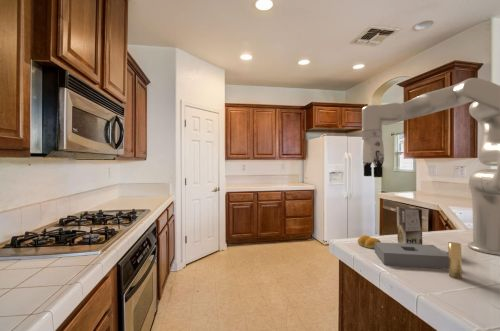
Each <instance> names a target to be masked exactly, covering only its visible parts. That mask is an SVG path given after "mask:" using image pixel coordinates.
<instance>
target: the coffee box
mask: <svg viewBox="0 0 500 331" xmlns="http://www.w3.org/2000/svg"><path fill="white" fill-rule="evenodd" d="M396 230H397V232H396V234H397V243H401V244H421V245H423V209H421V208H418V207H417V206H416V207H415V206H413V205H402V206H401V205H397V206H396Z"/></svg>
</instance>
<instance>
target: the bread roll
mask: <svg viewBox="0 0 500 331" xmlns="http://www.w3.org/2000/svg"><path fill="white" fill-rule="evenodd" d="M375 242H381V240H380V239H378V238H376V237H371V236H370V235H367V234H365V235H361V236H360V237H359V238H357V244H358V245H359V246H361V247H363V248H364V247H365V248H366V249H375ZM381 243H382V242H381Z"/></svg>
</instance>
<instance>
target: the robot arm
mask: <svg viewBox="0 0 500 331" xmlns="http://www.w3.org/2000/svg"><path fill="white" fill-rule="evenodd" d="M469 103H471V104H470V105H469V108H468V112H469V114H470V116H471V117H472V118H474V120H475V121H477V122H478V123H479V126H481V130H482V131H481V132H482V133H481V140H480V144H479V148H478V161H479V162H480V163H481V164H482V165H484V166H489V167H496V168H493V169H492V168H484V169H478V170H476V171H474V172H472V174H471V175H470V176H469V179H468V185H469V190H470V194H471V199H472V200H471V202H472V203H471V204H472V241H471V242H468V244H467V247H468V248H470V249H471V250H474V251H476V252H479V253H480V252H481V253H483V254H489V255H490V254H491V255H495V256H496V255H497V256H500V84H497V83H494V82H492V81H489V80H486V79H483V78H478V77H470V78H467V79H464V80H463V81H460V82H458V83H456V84H452V85H450V86H446V87H442V88H440V89H436V90H433V91H428V92H425V93H422V94H420V95H418V96H416V97H413V98H412V99H409V100H407V101H404V102H402V103H399V102H391V103H385V104H380V105H379V104H370V105H365V106H364V107H362V109H361V140H363V144H362V160H363V162H362V164H363V176H364V177H372V176H373V177H374V178H383V176H384V175H383V167H384V161H385V150H384V149H385V148H384V141H383V126H388V125H392V124H396V123H400V122H403V121H406V120H407V121H408V120H410V119H411V120H412V119H415V118H420V117H423V116H427V115H430V114H434V113H435V114H436V113H437V112H441V111H445V110H449V109H453V108H456V107H460V106H464V105H466V104H469ZM372 164H373V167H372ZM372 169H373V170H372Z"/></svg>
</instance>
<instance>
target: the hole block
mask: <svg viewBox="0 0 500 331" xmlns="http://www.w3.org/2000/svg"><path fill="white" fill-rule="evenodd" d="M374 253H375V255H376V256H377V258H379V260H380V261H381V263H382V264H383V265H385V266H402V267H414V268H415V267H416V268H418V267H419V268H430V269H432V268H433V269H443V268H446V269H447V270H449V253H446V252H445V251H443V250H442V249H440V248H438V247H437V246H436V245H433V244H422V245H421V244H401V243H398V242H397V243H396V242H375V248H374Z"/></svg>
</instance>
